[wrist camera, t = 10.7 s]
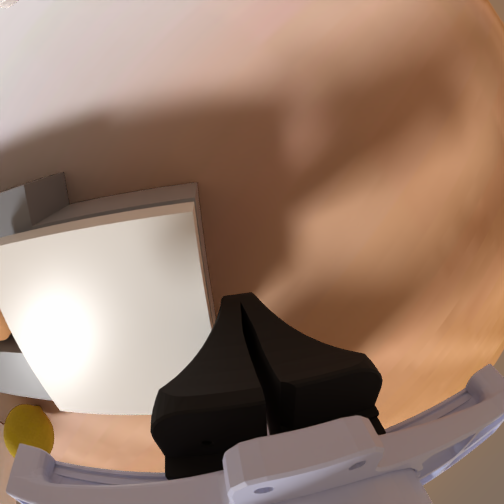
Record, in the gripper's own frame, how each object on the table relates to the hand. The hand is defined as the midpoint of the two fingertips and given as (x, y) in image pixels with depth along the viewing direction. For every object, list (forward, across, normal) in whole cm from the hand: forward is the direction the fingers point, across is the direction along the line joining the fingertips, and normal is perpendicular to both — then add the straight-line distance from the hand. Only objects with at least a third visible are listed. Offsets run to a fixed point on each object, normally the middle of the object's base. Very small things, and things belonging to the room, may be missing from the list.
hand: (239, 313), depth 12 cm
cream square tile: (0, +6, 0) cm, 6 cm away
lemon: (+6, +22, +14) cm, 27 cm away
